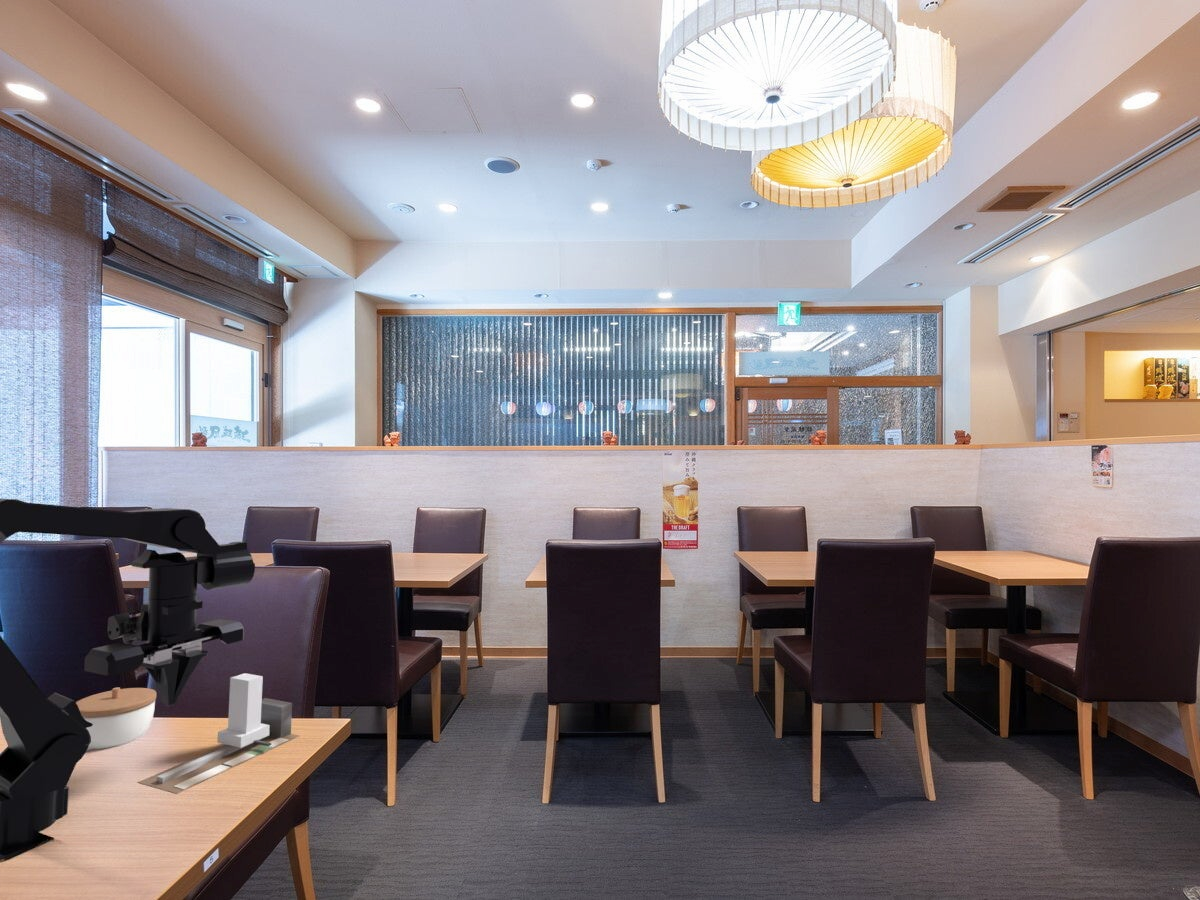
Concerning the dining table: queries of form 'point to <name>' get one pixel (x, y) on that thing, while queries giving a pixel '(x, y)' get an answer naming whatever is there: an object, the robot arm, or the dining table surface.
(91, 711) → the lidded jar
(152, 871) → the dining table surface
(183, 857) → the dining table surface
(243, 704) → the slider
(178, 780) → the base
